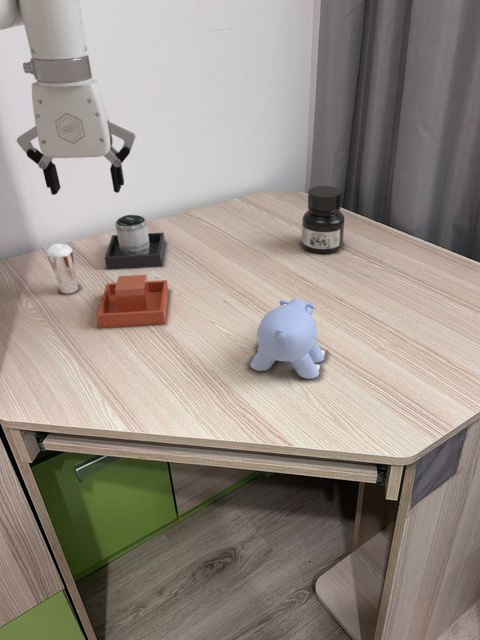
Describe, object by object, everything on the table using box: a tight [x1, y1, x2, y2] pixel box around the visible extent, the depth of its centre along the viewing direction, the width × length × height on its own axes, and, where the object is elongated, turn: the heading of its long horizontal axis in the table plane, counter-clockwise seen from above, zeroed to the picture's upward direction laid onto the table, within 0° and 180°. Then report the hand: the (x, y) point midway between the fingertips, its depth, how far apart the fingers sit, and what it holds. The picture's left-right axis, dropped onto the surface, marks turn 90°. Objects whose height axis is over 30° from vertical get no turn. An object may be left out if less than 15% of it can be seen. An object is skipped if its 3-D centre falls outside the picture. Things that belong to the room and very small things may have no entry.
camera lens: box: [114, 214, 150, 256], centre depth 112 cm, size 6×6×8 cm
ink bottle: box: [301, 185, 345, 254], centre depth 114 cm, size 10×9×12 cm
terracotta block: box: [115, 274, 151, 313], centre depth 96 cm, size 5×5×5 cm
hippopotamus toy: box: [249, 298, 326, 380], centre depth 82 cm, size 11×15×10 cm
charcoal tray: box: [104, 232, 166, 270], centre depth 114 cm, size 11×11×2 cm
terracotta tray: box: [96, 279, 170, 329], centre depth 97 cm, size 11×11×2 cm
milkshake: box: [40, 243, 79, 295], centre depth 100 cm, size 4×5×10 cm
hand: (87, 190), depth 86 cm, fingers open, 9 cm apart
